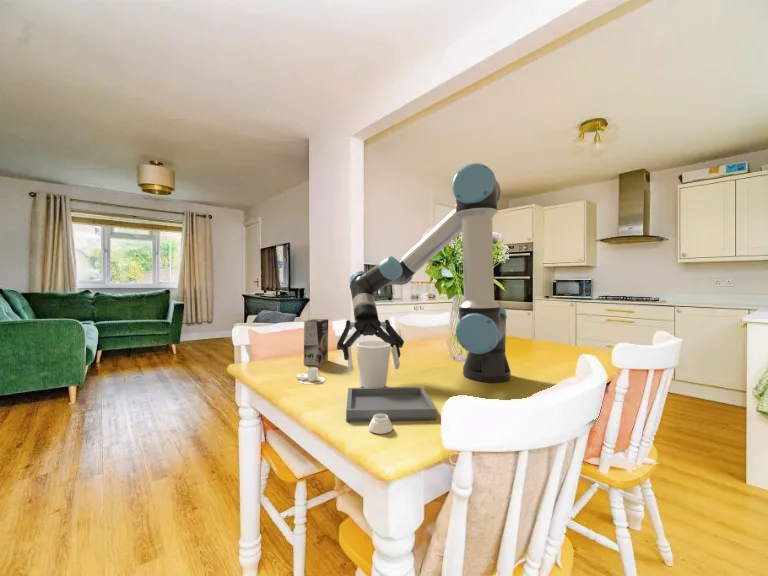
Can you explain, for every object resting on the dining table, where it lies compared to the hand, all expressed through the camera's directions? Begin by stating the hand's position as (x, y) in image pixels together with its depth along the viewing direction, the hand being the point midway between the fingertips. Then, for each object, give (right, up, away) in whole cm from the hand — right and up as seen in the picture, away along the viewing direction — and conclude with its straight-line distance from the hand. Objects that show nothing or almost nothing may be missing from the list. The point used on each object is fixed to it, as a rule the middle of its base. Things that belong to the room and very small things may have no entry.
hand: (374, 368), depth 98 cm
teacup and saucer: (-20, -7, +12) cm, 24 cm away
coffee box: (-23, -6, +32) cm, 39 cm away
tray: (+4, -7, -13) cm, 15 cm away
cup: (-1, -6, +2) cm, 7 cm away
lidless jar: (+2, -7, -26) cm, 27 cm away
